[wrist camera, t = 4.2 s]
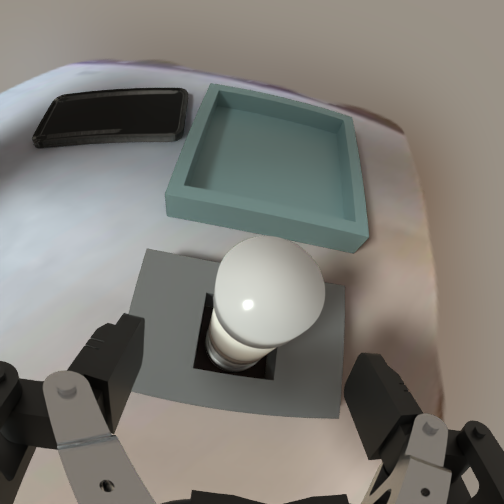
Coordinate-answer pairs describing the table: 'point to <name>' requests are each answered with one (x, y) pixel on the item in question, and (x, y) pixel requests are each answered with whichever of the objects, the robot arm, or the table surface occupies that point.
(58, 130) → the phone
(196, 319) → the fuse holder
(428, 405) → the table surface
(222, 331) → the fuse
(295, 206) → the parts tray
